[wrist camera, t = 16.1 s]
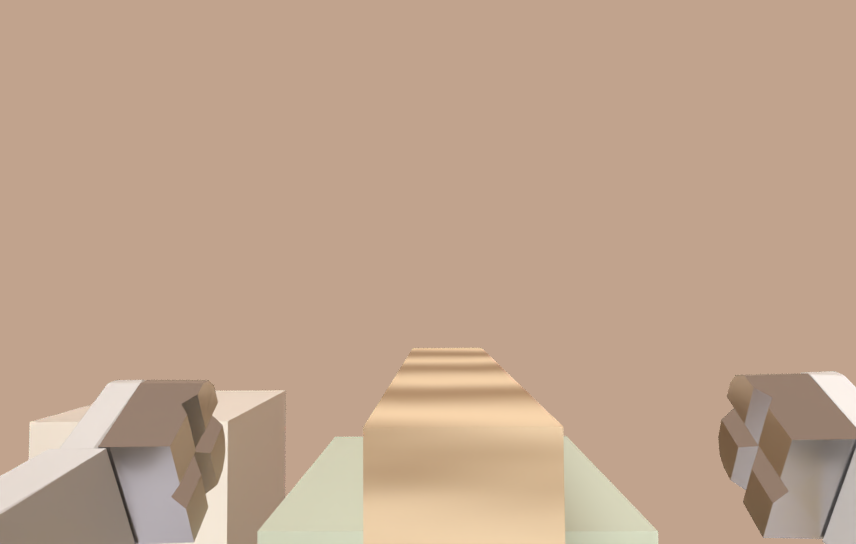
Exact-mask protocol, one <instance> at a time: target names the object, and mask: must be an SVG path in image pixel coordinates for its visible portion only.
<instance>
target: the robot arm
mask: <svg viewBox="0 0 856 544" xmlns="http://www.w3.org/2000/svg"><path fill="white" fill-rule="evenodd" d="M727 397H728V399H729V401H730V402H731V404H732V405H733V407H734V409H733V410H731V411H730V412H729V413H728V414H727V415H726V416H725V417H724V418H723V419H722V421H721V426H720V432H719V450H720V457H721V460H722V463H723V466H724V468H725V470H726V472H727V474H728V476H729V478H730V480H731V481H733V482H735V483H736V484H737V485H739V486H741V487H742V488H743V489H745V490H746V493H745V497H744V501H743V502H744V505H745V506H746V508H747V510H748V512H749V513H750V515H751V517H752V519H753V521H754V522H755V524H756V526H757V528H758V529H759V531H760V533H761V535H762V536H763V538H812V539H813V538H815V539H823V542H824V543H825V544H856V387H855V386H854V385H853V384H852V383H851V382H850V381H849V380H848V379H847V378H846V377H845V376H844V375H842V374H840V373H838V372H835V371H831V372H830V371H829V372H806V373H801V374H760V375H735V377H734V378H733V380H732V381H731V383H730V387H729V390H728V395H727ZM217 404H218V400H217V396H216V392H215V388H214V385H213V384H212V383H211V382H210V381H209V380H207V381H206V380H146V381H145V380H116V381H113V382H110V383H108V384H107V385H106V387H105V388H104V389H103V391H102V392H101V393H100V395H99V396H98V397H97V399H96V400H95V401H94V403H93V404H92V405H91V407H90V408H89V409H88V411H87V412H86V413H85V415H84V416H83V417H82V419H81V420H80V421H79V423H78V424H77V425H76V427H75V428H74V429H73V431H72V432H71V433H70V435H69V436H68V437H67V439H66V440H65V441H64V443H63V444H62V445H61V447H60V448H59V449H48V450H46V451H44V452H42V453H41V454H39V455H37V456H35V457H33V458H32V459H30V460H28V461H26V462H25V463H23V464H21V465H19V466H17V467H16V468H14V469H12V470H11V471H8V472H7V473H5V474H3V475H2V476H0V544H164V543H191V542H195V539H196V537H197V534H198V532H199V529H200V527H201V524H202V522H203V519H204V517H205V514H206V512H207V510H208V503H207V498H206V493H207V492H209V491H210V490H211V489H213V488H214V487H215V486H217V484H218V482H219V479H220V476H221V474H222V471H223V465H224V459H225V435H224V430H223V425H222V424H221V423H220V422H219V421H218V420H217V419H216V418H215V417H213V416H212V415H213V412H214V410H215V408H216V406H217Z"/></svg>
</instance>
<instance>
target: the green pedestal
mask: <svg viewBox="0 0 856 544" xmlns="http://www.w3.org/2000/svg"><path fill="white" fill-rule="evenodd" d="M563 441H564V496H565V544H658V531H657V530H656V529H655V528H654V527H653V526H652V525H651V524H650V523H649V522H648V521H647V519H645V517H644V516H643V515H642V514H641V513H640V512H639V511H638V510H637V509H636V508H635V507H634V506H633V505H632V504H631V503H630V502H629V501H628V500H627V499H626V498H625V497H624V496H623V495H622V493H621V492H619V490H618V489H617V488H616V487H615V486H614V485H613V484H612V483H611V482H610V481H609V480H608V479H607V478H606V477H605V476H604V475H603V474H602V473H601V472H600V471H599V470H598V469H597V467H595V465H594V464H593V463H592V462H591V461H590V460H589V459H588V458H587V457H586V456H585V455H584V454H583V453H582V452H581V451H580V450H579V449H578V448H577V447H576V446H575V445H574V444H573V443H572V442H571V440H569V438H568V437H567V436H563ZM257 544H363V437H335V438H334V439H333V440H332V441H331V443H330V444H329V445H328V446H327V447H326V449H325V450H324V451H323V452H322V454H321V455H320V456H319V457H318V458H317V460H316V461H315V462H314V463H313V465H312V466H311V467H310V468H309V469H308V471H307V472H306V473H305V474H304V475H303V477H302V478H301V479H300V480H299V482H298V483H297V484H296V485H295V486H294V488H293V489H292V490H291V491H290V492H289V494H288V495H287V496H286V497H285V499H284V500H283V501H282V502H281V503H280V505H279V506H278V507H277V508H276V509H275V511H274V512H273V513H272V514H271V516H270V517H269V518H268V519H267V520H266V522H265V523H264V524H263V525H262V527H261V528H260V529H259V530H258V531H257Z"/></svg>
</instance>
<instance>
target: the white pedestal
mask: <svg viewBox="0 0 856 544" xmlns="http://www.w3.org/2000/svg"><path fill="white" fill-rule="evenodd" d="M215 392H216V396H217V400H218V404H217V406H216V408H215V410H214V412H213V415H212V416H213V417H215V418H216V419H217V420H218V421H219V422H220V423H221V424H222V425H223V430H224V435H225V459H224V465H223V471H222V474H221V476H220V479H219V482H218V484H217V486H215V487H214V488H213V489H211V490H210V491H209V492H207V493H206V498H207V503H208V510H207V512H206V514H205V517H204V519H203V522H202V524H201V527H200V529H199V532H198V534H197V537H196V539H195V542H191V543H164V544H257V531H258V530H259V529H260V528H261V527H262V525H263V524H264V523H265V522H266V520H267V519H268V518H269V517H270V516H271V514H272V513H273V512H274V511H275V509H276V508H277V507H278V506H279V505H280V503H281V502H282V501H283V500H284V499H285V423H286V421H285V420H286V419H285V418H286V417H285V412H286V411H285V410H286V391H285V390H277V391H275V390H270V391H215ZM90 407H91V405H89V406H85V407H82V408H78V409H74V410H71V411H67V412H64V413H60V414H57V415H53V416H49V417H46V418H42V419H38V420H35V421H32V422H30V432H29V433H30V435H29V460H30V459H32V458H33V457H35V456H37V455H39V454H41V453H42V452H44V451H46V450H48V449H59V448H60V447H61V445H62V444H63V443H64V441H65V440H66V439H67V437H68V436H69V435H70V433H71V432H72V431H73V429H74V428H75V427H76V425H77V424H78V423H79V421H80V420H81V419H82V417H83V416H84V415H85V413H86V412H87V411H88V409H89V408H90Z"/></svg>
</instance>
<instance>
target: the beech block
mask: <svg viewBox="0 0 856 544" xmlns="http://www.w3.org/2000/svg"><path fill="white" fill-rule="evenodd" d="M363 544H565V496H564V441H563V426H562V425H561V424H560V423H559V422H558V421H557V420H556V419H555V418H554V417H552V416H551V415H550V414H549V413H548V412H547V411H546V410H545V409H544V408H543V407H542V406H541V405H540V404H539V403H538V402H537V401H536V400H535V399H534V398H533V397H532V396H531V395H530V394H529V393H528V392H527V391H526V390H524V389H523V387H521V386H520V385H519V384H518V383H517V382H516V381H515V380H514V379H513V378H512V377H511V376H510V375H509V374H508V373H507V372H506V371H505V370H504V369H503V368H502V367H501V366H500V365H498V363H497V362H495V360H493V359H492V358H491V357H490V356H489V355H488V354H487V353H486V352H485V351H484V350H483V349H482V348H413V349H412V351H411V352H410V354H409V355H408V357H407V359H406V360H405V362H404V363H403V365H402V367H401V368H400V370H399V371H398V373H397V374H396V376H395V378H394V379H393V381H392V382H391V384H390V386H389V387H388V389H387V390H386V392H385V394H384V395H383V397H382V398H381V400H380V402H379V403H378V405H377V406H376V408H375V410H374V411H373V413H372V414H371V416H370V417H369V419H368V421H367V422H366V424H365V425H364V427H363Z"/></svg>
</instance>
